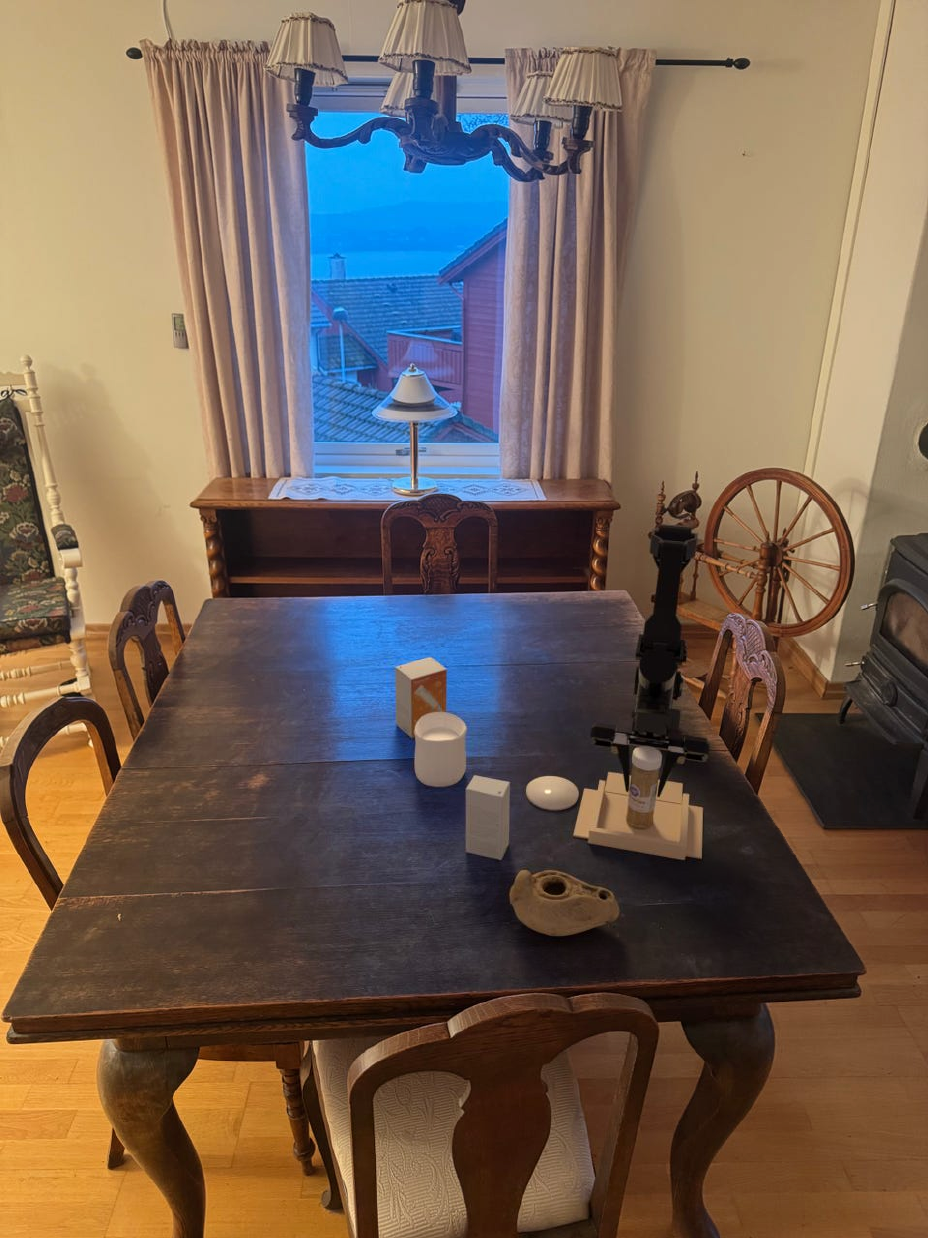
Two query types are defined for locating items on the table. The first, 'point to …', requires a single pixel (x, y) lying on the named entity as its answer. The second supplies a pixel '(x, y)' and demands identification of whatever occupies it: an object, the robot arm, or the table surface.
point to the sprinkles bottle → (643, 786)
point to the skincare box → (487, 817)
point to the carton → (666, 837)
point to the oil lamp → (560, 903)
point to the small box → (419, 692)
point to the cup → (440, 749)
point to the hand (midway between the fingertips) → (642, 794)
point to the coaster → (552, 793)
